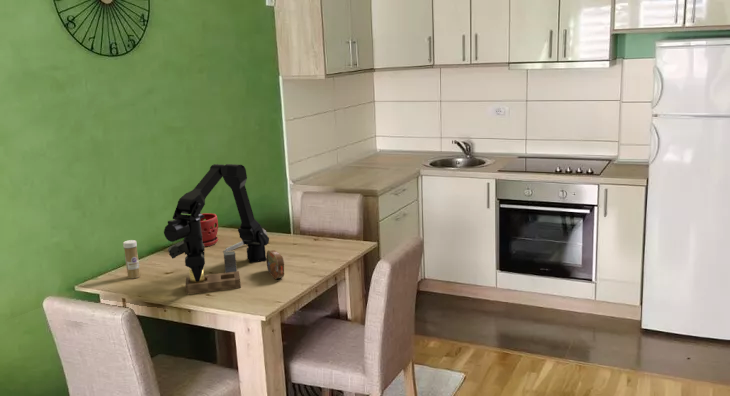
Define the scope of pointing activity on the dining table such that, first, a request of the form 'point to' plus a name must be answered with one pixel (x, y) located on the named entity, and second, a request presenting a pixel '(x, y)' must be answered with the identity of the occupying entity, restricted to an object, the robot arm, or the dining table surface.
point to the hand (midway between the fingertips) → (197, 277)
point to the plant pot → (209, 229)
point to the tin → (275, 264)
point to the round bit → (194, 278)
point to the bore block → (214, 283)
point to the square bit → (230, 261)
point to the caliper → (239, 244)
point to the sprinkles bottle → (131, 258)
